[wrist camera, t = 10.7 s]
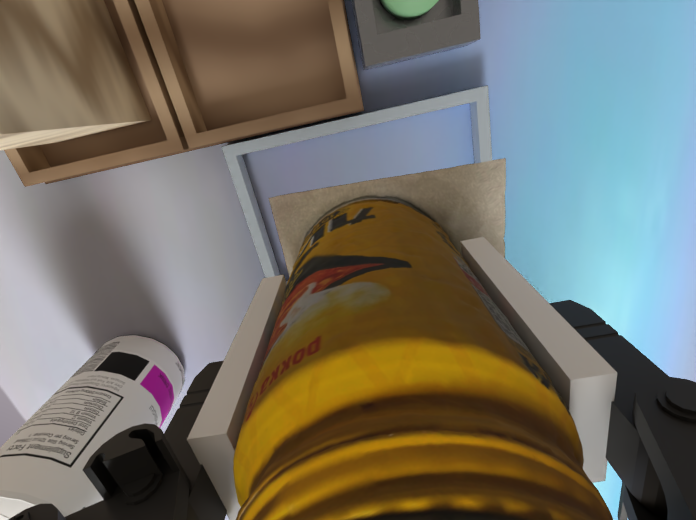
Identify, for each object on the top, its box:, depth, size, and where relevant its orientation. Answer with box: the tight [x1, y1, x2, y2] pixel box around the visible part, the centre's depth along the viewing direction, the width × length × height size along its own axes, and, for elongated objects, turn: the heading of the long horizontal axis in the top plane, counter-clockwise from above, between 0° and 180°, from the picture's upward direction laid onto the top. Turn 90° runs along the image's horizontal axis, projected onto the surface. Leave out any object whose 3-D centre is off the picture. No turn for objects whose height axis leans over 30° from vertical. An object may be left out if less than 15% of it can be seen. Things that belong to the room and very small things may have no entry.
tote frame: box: [221, 86, 492, 284], centre depth 28 cm, size 13×19×2 cm
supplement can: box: [0, 335, 185, 520], centre depth 28 cm, size 8×8×15 cm
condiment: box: [233, 158, 613, 520], centre depth 9 cm, size 7×8×12 cm
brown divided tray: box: [4, 0, 364, 187], centre depth 23 cm, size 13×24×3 cm, turn 102°
